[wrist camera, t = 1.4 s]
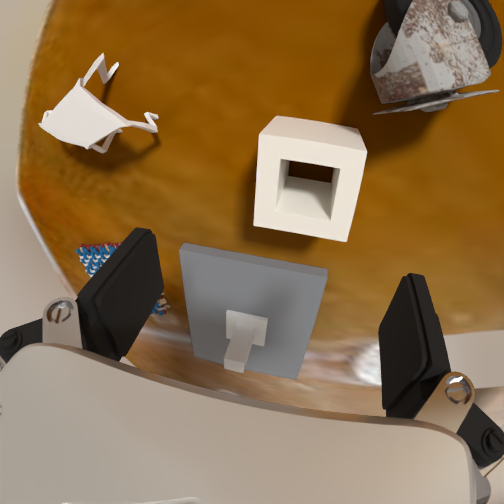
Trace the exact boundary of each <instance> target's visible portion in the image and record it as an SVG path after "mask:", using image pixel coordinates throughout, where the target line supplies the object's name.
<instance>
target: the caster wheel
mask: <svg viewBox="0 0 504 504" xmlns="http://www.w3.org/2000/svg"><path fill="white" fill-rule="evenodd" d="M384 10H385V14H386V18H387V20H388V22H386V24H385V25H384V26H383V27H382V29H381V30H380V32H379V33H378V35H377V37H376V39H375V42H374V45H373V48H372V53H371V61H370V75H371V78H372V80H373V83H374V85H375V88H376V90H377V93H378V96H379V98H380V101H381V103H382V104H386V103H396V102H403V101H407V103H406V104H405V105H401V106H397V107H393V108H389V109H386V110H382V111H378V112H375V113H373V115H375V114H384V113H393V112H404V111H412V110H416V109H421V110H422V111H425V112H431V111H437V110H441V109H444V108H446V106H447V105H448V104H447V102H449V101H454V100H458V99H463V98H468V97H473V96H478V95H483V94H489V93H494V92H498V91H499V90H489V91H476V92H465V93H456V92H455V90H457V89H460V88H462V87H466V86H470V85H474V84H478V83H481V82H483V81H485V80H486V79H487V78H488V77H489V75H490V74H491V72H490V68H491V67H493V66H494V65H495V64H496V63H497V61H498V59H499V57H500V54H501V50H502V33H501V28H500V24H499V21H498V19H497V16H496V14H495V12H494V10H493V8H492V6H491V5H490V3H489V1H488V0H384Z"/></svg>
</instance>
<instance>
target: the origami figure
mask: <svg viewBox="0 0 504 504" xmlns="http://www.w3.org/2000/svg"><path fill="white" fill-rule="evenodd" d="M118 66H119V64H118V62H117V63H116V64H115V65H113V66H112V68H111V69H110V71H109V72H108V74H107V70H106V65H105V60H104V54H103V53H102V54H101V55H100V56H99V57H98V58H97V59H96V60H95V62H94V63H93V65H92V66H91V68H90V69H89V71H88V72H87V74H86V76H85V77H84V79H83V78H79V80H78V82H77V83H76V85H75V86H74V88H73V89H72V90H71V91H70V92H69V93H68V94H67V95H66V96H65V97H64V98H63V100H62V101H61V102H60V103H59V104H58V105H57V106H56V107H55V108H54V110H53V111H46V112H45V113H44V116H43V119H42V123H38V124H39V125H40V127H41V128H43V129H44V130H46V131H47V132H49V133H50V134H51V135H53V136H54V137H56V138H57V139H59V140H61V141H65V142H68V143H71V144H75V145H79V146H83V147H85V148H86V149H87V150H88V149H90V148H93V149H95V150H96V151H98V152H100V153H104V152H107V150H108V148H109V146H110V143H111V141H112V139H113V137H114V135H115V133H116V132H117V133H122V132H123V131H122V130H120V128H122V127H126V126H133V127H137V128H141V129H144V130H147V131H149V132H152V133H156V132H158V131H157V126H156V125H155V123H154V122H153V120H152V119H155V120H156V119H158V115H156V114H153V113H149V112H146V113H144V115H145V117H146V119H147V121H148V123H149V124H146V123H142V122H135V121H128V120H126V119H125V118H123V117H122V116H121V115H119V114H118V113H117V112H115V111H114V110H112V109H111V108H109V107H107V106H106V105H104V104H103V103H102V102H101V101H99V100H98V99H97V98H96V97H95V96H93V95H92V94H91V93H90V92H89V91H87V90H86V89H85V88H84V85H85V84H86V83H87V81H88V80H89V78H90V77H91V75H92V74H93V73H94V71H95V70H96V68H97V69H98V72H99V74H100V77H101V79H102V82H103V84H105V83H106V82H107V81H108V80H109V79H110V77H111V76H112V74H113V73H114V72H115V70H116V69H117V67H118ZM107 136H108V137H107ZM105 137H107V139H106V140H105V142H104V144H103V146H102V147H100V146H98V145H96V144H95V143H97V142H98V141H100V140H102V139H103V138H105Z"/></svg>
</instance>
